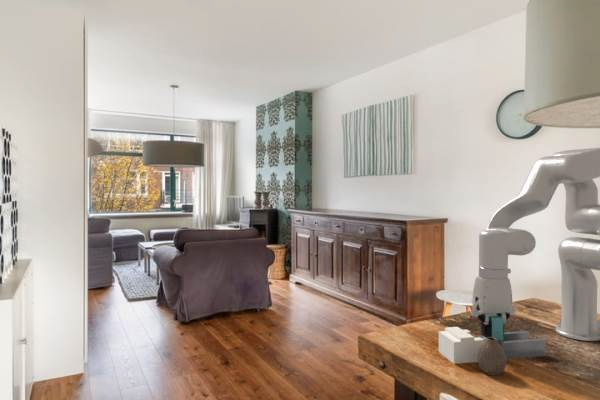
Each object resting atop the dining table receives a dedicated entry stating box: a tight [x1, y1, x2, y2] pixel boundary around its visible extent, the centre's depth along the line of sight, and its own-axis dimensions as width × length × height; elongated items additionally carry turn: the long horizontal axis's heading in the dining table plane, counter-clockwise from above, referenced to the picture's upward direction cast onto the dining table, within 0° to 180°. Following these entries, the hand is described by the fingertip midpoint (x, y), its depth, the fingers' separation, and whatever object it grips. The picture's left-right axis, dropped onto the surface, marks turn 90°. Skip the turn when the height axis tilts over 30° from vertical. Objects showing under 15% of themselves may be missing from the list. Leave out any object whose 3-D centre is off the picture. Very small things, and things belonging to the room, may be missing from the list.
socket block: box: [438, 326, 484, 365], centre depth 114 cm, size 9×8×7 cm
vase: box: [477, 337, 507, 376], centre depth 105 cm, size 7×7×9 cm
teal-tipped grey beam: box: [481, 314, 503, 342], centre depth 115 cm, size 14×4×10 cm, turn 99°
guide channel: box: [498, 330, 547, 360], centre depth 117 cm, size 14×8×4 cm, turn 99°
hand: (492, 335), depth 116 cm, fingers closed on teal-tipped grey beam, 3 cm apart
